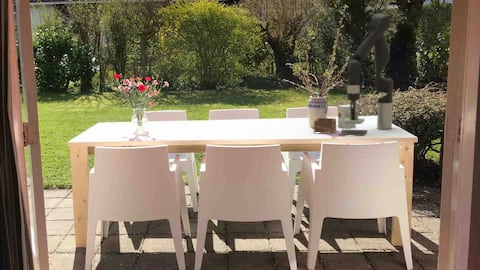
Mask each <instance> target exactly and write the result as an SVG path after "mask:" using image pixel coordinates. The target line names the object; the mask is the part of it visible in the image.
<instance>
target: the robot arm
mask: <svg viewBox="0 0 480 270" xmlns="http://www.w3.org/2000/svg"><path fill="white" fill-rule="evenodd" d="M370 23H371V29H372V31H371V32H372V33H371V34H370V35H369V36H368V37H367V38H365V39H364V40H363V41H362V42H361V43H360V45H359V46H358V48H357V49H356V51H355V52H354V54H353V55H352V56H351V57H350V59H349V60H348V62H347V64H346V68H347V70H348V71H349V76H348V77H347V100H348V101H350V103H349V105H350V110H351V120H355V112H357V107H358V102H357V101H359V100H360V99H361V98H360V97H361V94H360V93H361V91H360V89H361V87H360V76H361V70H362V65H361V62H362V61H363V60H365V59H366V58H367V56H368V55H369V53H370V52H371V50H372V49H373V48H374V49H373V52H374V65H375V67H374V68H375V69H374V70H375V78H374V79H375V80H374V81H375V90H376V92H378V93H386V94H385V95H384V96H381V97H378V98H377V121H376V123H377V126H376V127H377V129H378V130H392V128H393V95H394V94H393V93H394V90H393V89H394V80H393V78H392V77H382V73H383V71H384V69H385V68H386V66H387V64H388V62H389V61H390V59H391V57H390V47H389V44H388V42H387V39H386V38H385V35H384V33H386V32H387V30H388V29H389V28H390V26H391V24H392V18H391V16H389V15H387V14H385V13H384V14H383V13H375V14H373V16H372V17H371V22H370Z"/></svg>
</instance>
